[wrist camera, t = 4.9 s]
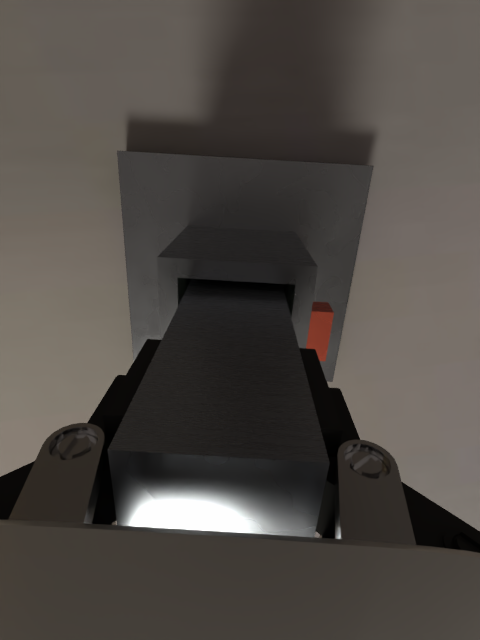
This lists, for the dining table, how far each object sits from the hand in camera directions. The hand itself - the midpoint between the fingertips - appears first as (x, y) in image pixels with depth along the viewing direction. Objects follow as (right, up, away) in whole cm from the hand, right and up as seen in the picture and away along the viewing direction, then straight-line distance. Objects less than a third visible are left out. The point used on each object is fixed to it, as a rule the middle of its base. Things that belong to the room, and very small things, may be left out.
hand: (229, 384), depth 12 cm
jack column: (0, +4, +8) cm, 9 cm away
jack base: (0, +5, +12) cm, 13 cm away
